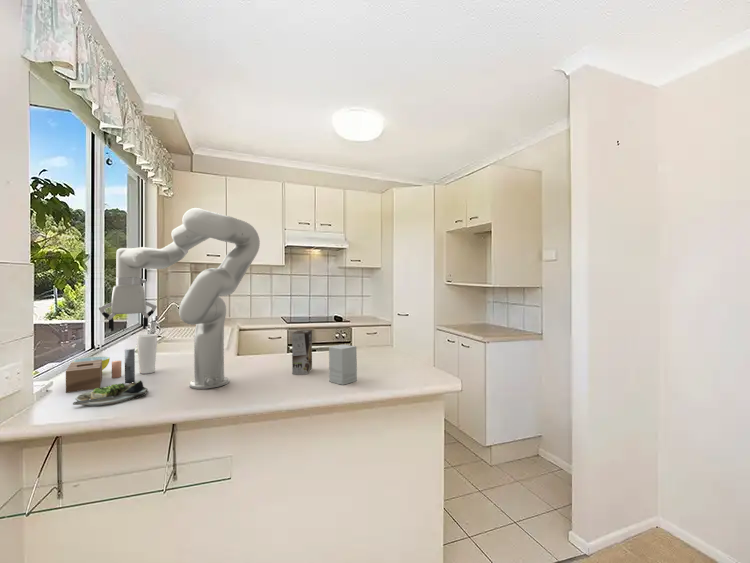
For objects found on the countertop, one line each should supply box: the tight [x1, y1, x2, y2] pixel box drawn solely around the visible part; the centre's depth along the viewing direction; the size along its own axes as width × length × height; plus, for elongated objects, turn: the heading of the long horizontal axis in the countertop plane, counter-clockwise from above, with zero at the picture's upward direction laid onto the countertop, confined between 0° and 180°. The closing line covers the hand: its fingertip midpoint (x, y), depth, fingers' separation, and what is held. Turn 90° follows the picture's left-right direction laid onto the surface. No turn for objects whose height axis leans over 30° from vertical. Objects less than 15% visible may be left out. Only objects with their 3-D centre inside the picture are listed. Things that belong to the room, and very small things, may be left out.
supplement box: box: [328, 344, 358, 386], centre depth 130 cm, size 7×7×13 cm
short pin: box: [111, 360, 122, 379], centre depth 138 cm, size 3×3×6 cm
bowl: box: [72, 356, 111, 371], centre depth 141 cm, size 11×12×6 cm
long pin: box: [124, 348, 136, 384], centre depth 130 cm, size 3×3×12 cm
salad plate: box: [72, 380, 149, 407], centre depth 112 cm, size 19×18×5 cm
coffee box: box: [291, 329, 313, 375], centre depth 144 cm, size 9×6×16 cm
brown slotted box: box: [65, 359, 103, 393], centre depth 128 cm, size 16×9×7 cm, turn 35°
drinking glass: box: [136, 333, 158, 375], centre depth 144 cm, size 7×7×15 cm
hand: (128, 329), depth 130 cm, fingers open, 9 cm apart
